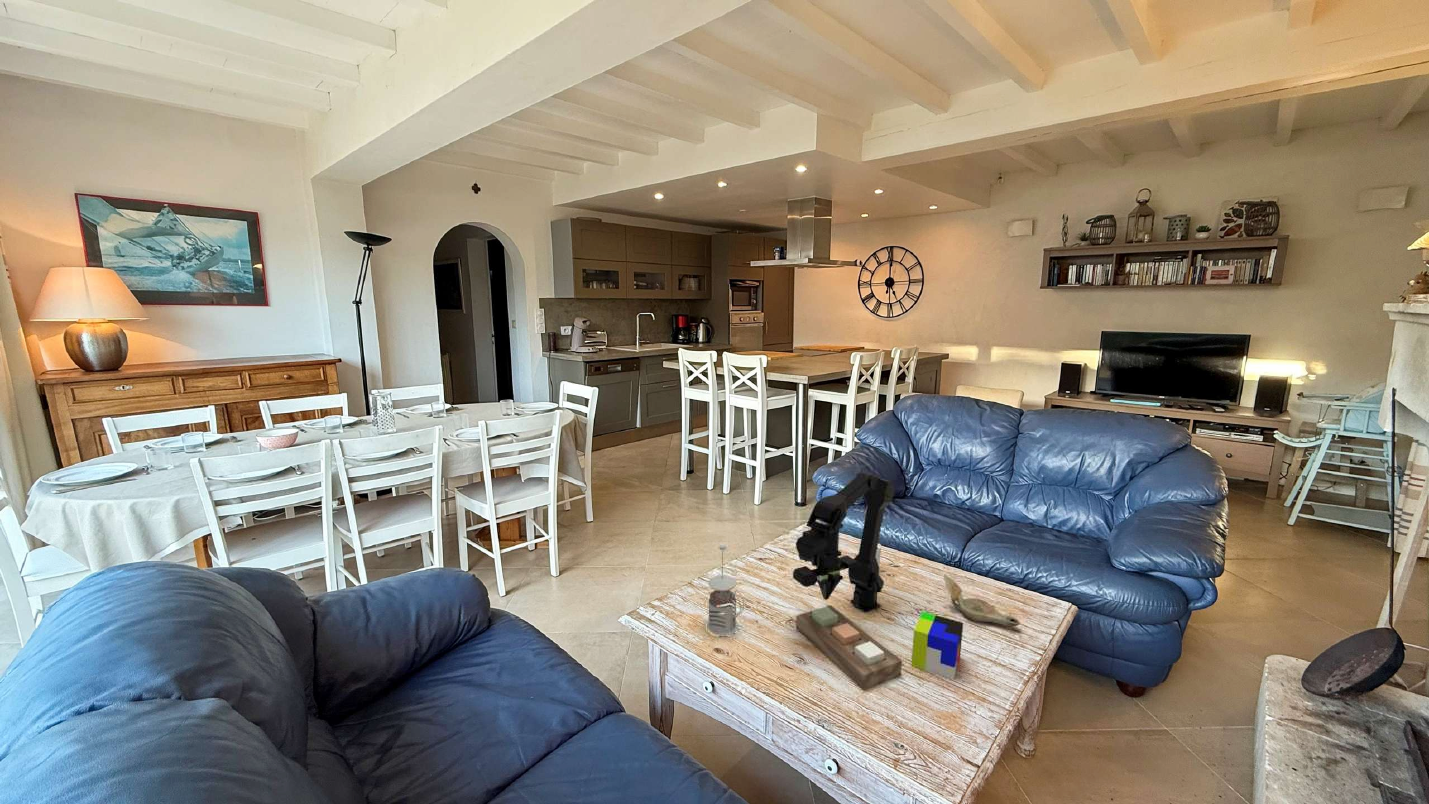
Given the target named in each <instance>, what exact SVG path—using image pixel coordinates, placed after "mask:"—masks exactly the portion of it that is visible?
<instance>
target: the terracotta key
mask: <svg viewBox="0 0 1429 804" xmlns="http://www.w3.org/2000/svg"><path fill="white" fill-rule="evenodd" d="M832 636H833V637H834V638H835V639H836V640H838V641H839V642H840V643H841V644H842V645H843V646H845V645H848V644H851V643H854V642H857V641H859V639H860V633H859V632H858V631H857V630H855V629H854V628H853V627H852V626H850V625H849V624H848V623H846V624H843V625H840V626H837V627H834V628H832Z"/></svg>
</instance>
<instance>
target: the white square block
mask: <svg viewBox="0 0 1429 804" xmlns="http://www.w3.org/2000/svg"><path fill="white" fill-rule="evenodd" d="M854 655H855V656H856V657H857V658H859V659H860V660H861V661H862V662H863V663H865V664H866V665H867V666H871V665H873V664H876V663H879V662H881V661H884V652H883V651H882V650H881V649H879V648H878V647H877V646H876V645H874V644H873V643H872V642H871V641H870V642H867V643H864V644H861V645H858V646H855V654H854Z"/></svg>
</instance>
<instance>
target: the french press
mask: <svg viewBox="0 0 1429 804" xmlns="http://www.w3.org/2000/svg"><path fill="white" fill-rule="evenodd" d="M726 549H727V546H726V544H724V543H723V544H720V545H719V550H721V554H722V555H721V574H718V575H714V576H713V577H710V578H709V580H708V582H707V585H708V586H709V588H710V589H712V590H713V591H712V592H710V594H709V600H708V621H709V622H708V621H707V622H708V623H707V622H706V624H707V629H708V630H709V631H710V632H712V633H713V634H716V635H719V636H727V635H732V634H734V633H735V632H736V631H737V630H738V627H739V628H740V625H738V624H739V623H738V622H737V617H738V616H740V615H741V614H742V613H743V612H744V610H745V600H744V597H743V595H742V594H741V592H740V591H739V590H737V589H736V590H735V592H733V591H731V590H733V589H735V588H736V586H737V583H738V581H737V580H736V579H735V578H734V577H732V576H730V575H728V574H724V551H725V550H726ZM737 593H738V594H739V595H740V597H741V599H742V603H743V605H742V603H741V601H740V599H739V596H738V595H737ZM737 600H738V603H739V612H738V613H737ZM722 605H723V606H722ZM734 635H735V634H734Z"/></svg>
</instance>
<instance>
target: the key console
mask: <svg viewBox="0 0 1429 804" xmlns="http://www.w3.org/2000/svg"><path fill="white" fill-rule="evenodd" d="M824 607H825V606H824ZM824 607H821V608H824ZM826 607H828V608H829V609H830V610H831V611H833V612H834V613H835V614H836V615H838V623H836V624H832V625H829V626H826V627H823V628H822V627H821V626H820V625H819V624H818V623H817V622H815V621H814V620H813V619H812V611H814V610H815V609H814V610H810V611H807V612H803V613H801V614H797V615H796V620H795V621H796V622H795V629H796V630H797V631H798V632H800V634H801V635H802V636H804V637H805V638H806V639H807V640H808V641H809V642H811V644H812V645H813V646H814V647H816V649H818V650H819V652H821V653H822V654H823V655H824V656H825V657H826V658H827V659H829V660H830V661H831V663H833V664H834V665H835V666H836V667H837V668H838V669H840V670H841V671H842V672H843V673H844V674H845V675H846V676H848V678H849V679H851V680H852V681H853V683H854V684H856V685H857V686H858V687H859V688H860V689H861V690H862V691H864V690H867V689H869V688H872V687H874V686H877V685H880V684H882V683H885V682H887V681H890V680H893V679H895V678H897V677H900V676H902V667H903V664H902V663H903V661H902V659H900V658H899V657H898V656H896V655H895V654H894V653H893V652H891V651H890V650H889V649H887V648H886V646H884V645H882V644H881V643H880V642H879V641H877V640H876V639H874V637H872V636H871V635H870V634H869V633H867V632H865V630H863V629H862V628H861V627H859V626H858V625H856V623H854V622H853V621H852V620H850V619H849V618H848V617H847V616H845V615H844V614H843V613H841V612H840V611H839V609H836V608H835V607H834V606H832V605H827V606H826ZM821 608H819V609H821ZM846 623H848V624H849V625H850V626H852V627H853V628H854V629H855V630H857V631H858V632H859V633H860V639H859V641H857V642H854V643H851V644H848V645H845V646H843V645H842V644H841V643H840V642H839V641H838V640H836V639H835V638H834V637H833V636H832V628H834V627H837V626H840V625H843V624H846ZM870 641H871V642H872V643H873V644H874V645H876V646H877V647H878V648H879V649H881V650H882V651H883V652H884V661H881V662H879V663H876V664H873V665H871V666H867V665H866V664H865V663H863V662H862V661H861V660H860V659H859V658H857V657H856V656H855V655H854V654H855V646H858V645H861V644H864V643H867V642H870Z"/></svg>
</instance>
